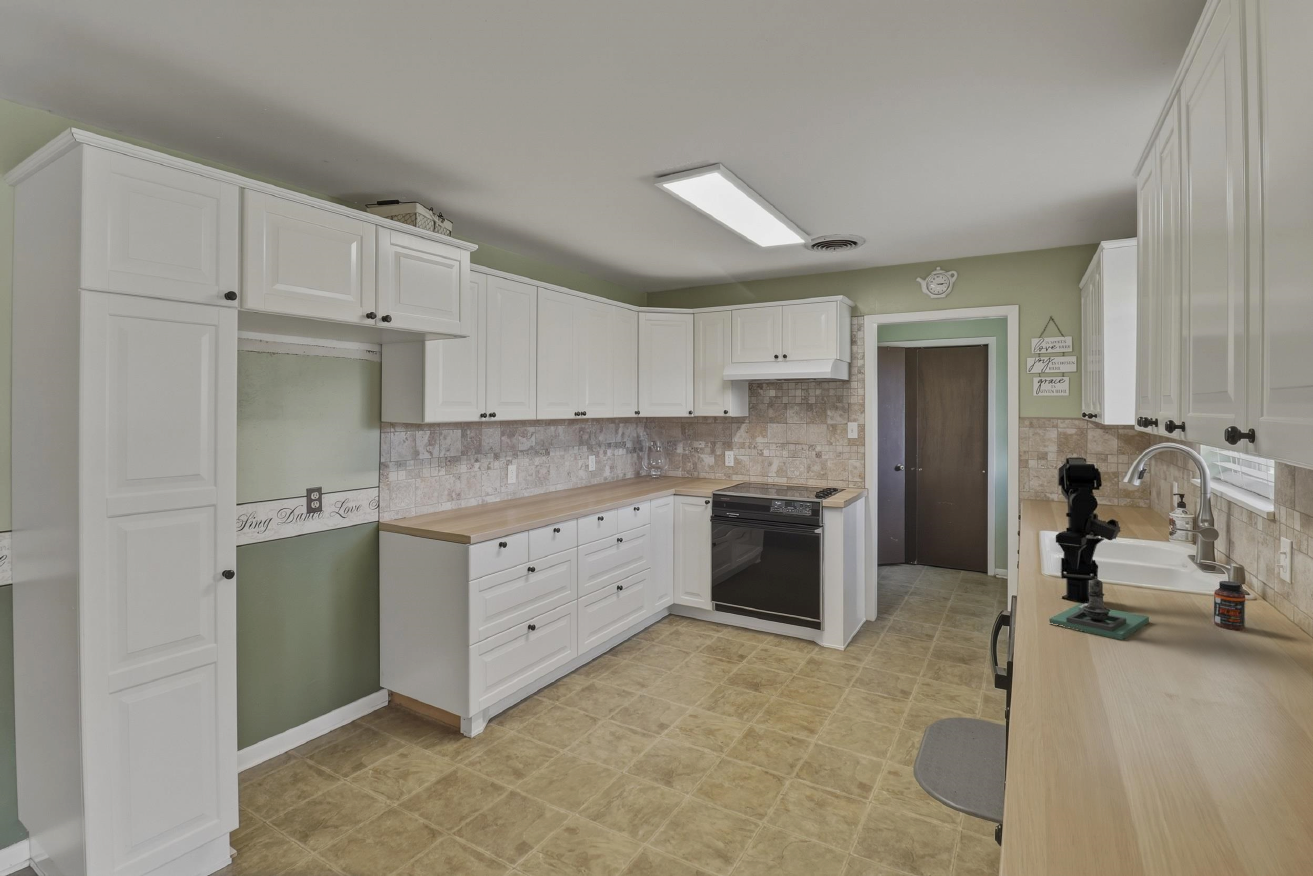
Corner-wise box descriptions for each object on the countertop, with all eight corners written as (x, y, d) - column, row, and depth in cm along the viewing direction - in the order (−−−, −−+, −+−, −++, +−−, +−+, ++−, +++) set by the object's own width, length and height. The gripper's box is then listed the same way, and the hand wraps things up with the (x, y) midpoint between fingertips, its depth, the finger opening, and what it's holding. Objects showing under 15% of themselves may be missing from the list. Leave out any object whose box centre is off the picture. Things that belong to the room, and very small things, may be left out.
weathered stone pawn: (1108, 620, 165) (1108, 574, 165) (1111, 627, 160) (1111, 579, 160) (1081, 617, 168) (1081, 572, 168) (1083, 624, 163) (1083, 577, 163)
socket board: (1079, 608, 180) (1079, 599, 180) (1149, 622, 168) (1148, 612, 168) (1049, 624, 168) (1049, 614, 168) (1121, 640, 156) (1121, 629, 155)
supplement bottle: (1217, 629, 161) (1217, 584, 161) (1210, 622, 167) (1210, 578, 166) (1249, 632, 159) (1248, 586, 158) (1240, 624, 164) (1240, 580, 163)
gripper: (1102, 516, 164) (1103, 577, 164) (1128, 508, 175) (1128, 565, 175) (1054, 511, 172) (1055, 569, 173) (1082, 505, 184) (1082, 559, 184)
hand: (1081, 566), depth 176 cm, fingers open, 9 cm apart
